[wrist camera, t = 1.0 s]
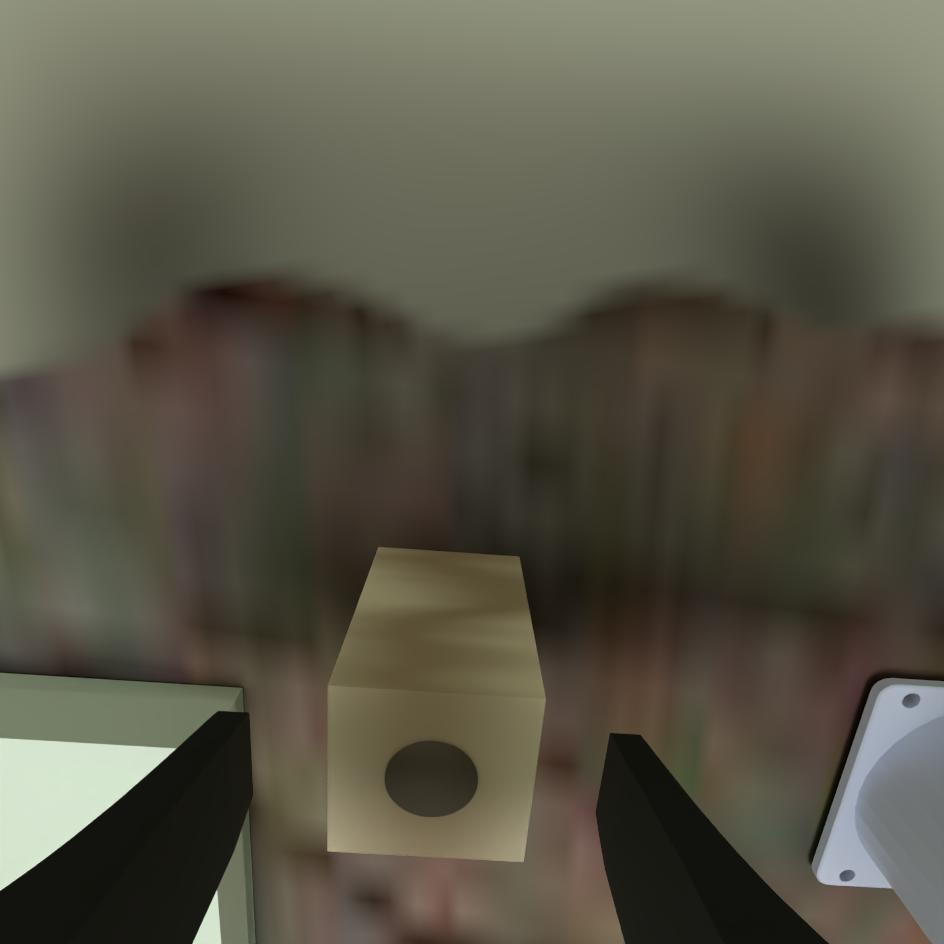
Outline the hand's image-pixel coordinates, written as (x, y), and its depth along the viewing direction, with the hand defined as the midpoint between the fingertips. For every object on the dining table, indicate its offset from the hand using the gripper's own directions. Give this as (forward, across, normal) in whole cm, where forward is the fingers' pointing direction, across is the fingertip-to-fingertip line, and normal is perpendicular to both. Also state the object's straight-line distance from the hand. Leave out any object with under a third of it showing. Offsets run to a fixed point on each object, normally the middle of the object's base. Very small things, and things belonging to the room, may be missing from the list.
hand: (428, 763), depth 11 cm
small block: (+6, 0, 0) cm, 6 cm away
